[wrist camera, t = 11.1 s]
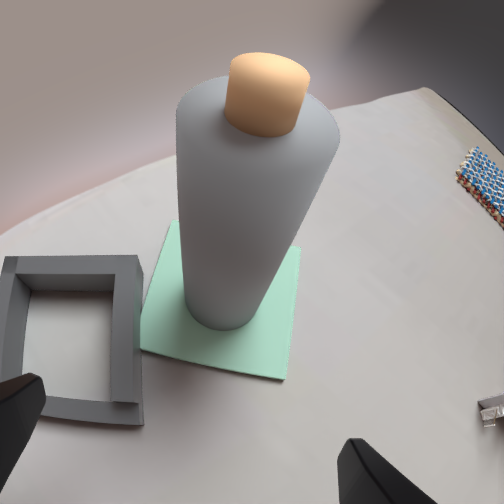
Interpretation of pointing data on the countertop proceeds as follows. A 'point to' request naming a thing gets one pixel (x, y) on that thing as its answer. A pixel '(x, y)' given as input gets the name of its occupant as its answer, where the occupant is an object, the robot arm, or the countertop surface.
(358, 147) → the countertop surface
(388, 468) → the robot arm
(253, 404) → the countertop surface
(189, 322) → the pad
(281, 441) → the countertop surface
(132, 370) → the gray square frame
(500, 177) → the woven mat
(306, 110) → the capped gray cylinder
